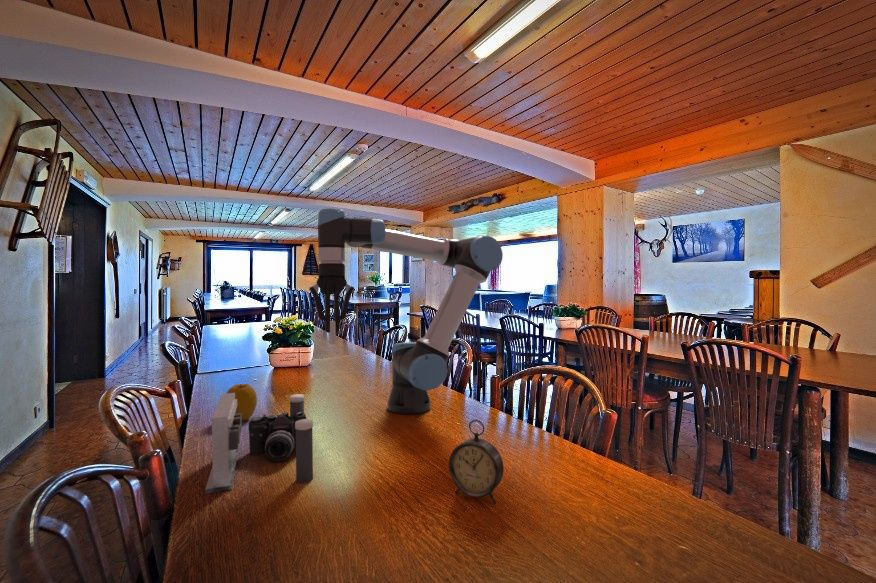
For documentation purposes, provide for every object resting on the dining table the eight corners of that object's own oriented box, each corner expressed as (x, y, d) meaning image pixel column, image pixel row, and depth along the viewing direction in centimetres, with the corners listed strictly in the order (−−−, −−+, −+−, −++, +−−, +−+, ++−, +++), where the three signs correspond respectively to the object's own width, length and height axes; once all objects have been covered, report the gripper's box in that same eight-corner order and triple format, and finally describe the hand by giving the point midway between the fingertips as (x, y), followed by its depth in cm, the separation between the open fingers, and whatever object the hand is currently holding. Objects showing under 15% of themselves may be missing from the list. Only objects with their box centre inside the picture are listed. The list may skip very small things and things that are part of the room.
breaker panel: (242, 452, 110) (241, 392, 109) (237, 488, 91) (235, 415, 90) (216, 456, 107) (215, 394, 107) (205, 494, 89) (203, 419, 88)
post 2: (312, 474, 98) (311, 418, 97) (314, 481, 94) (313, 423, 94) (295, 477, 96) (294, 420, 96) (296, 484, 93) (295, 425, 92)
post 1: (304, 440, 118) (304, 393, 117) (304, 445, 114) (303, 397, 114) (290, 441, 117) (290, 394, 116) (289, 447, 113) (289, 398, 113)
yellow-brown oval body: (216, 422, 132) (216, 385, 132) (241, 413, 141) (241, 378, 141) (240, 426, 129) (239, 388, 128) (264, 417, 138) (263, 381, 137)
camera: (242, 467, 101) (241, 427, 101) (251, 449, 112) (251, 412, 111) (304, 461, 105) (304, 422, 104) (307, 444, 115) (307, 408, 115)
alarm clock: (447, 495, 88) (447, 419, 88) (458, 484, 93) (458, 412, 92) (497, 509, 83) (497, 428, 82) (506, 496, 88) (506, 420, 87)
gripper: (351, 263, 128) (352, 340, 129) (307, 263, 123) (308, 342, 124) (356, 262, 121) (357, 344, 122) (309, 262, 116) (310, 346, 117)
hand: (332, 343), depth 123 cm, fingers closed
